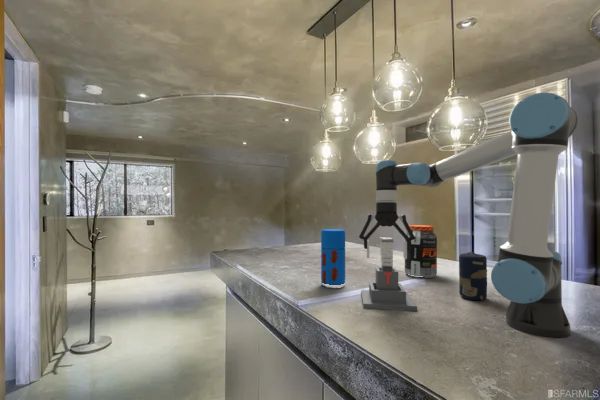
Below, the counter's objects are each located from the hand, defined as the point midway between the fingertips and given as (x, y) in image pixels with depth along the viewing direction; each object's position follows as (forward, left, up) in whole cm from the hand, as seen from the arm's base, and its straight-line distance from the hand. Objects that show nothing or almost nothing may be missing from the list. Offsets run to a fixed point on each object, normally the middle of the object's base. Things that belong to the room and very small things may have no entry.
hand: (386, 258), depth 115 cm
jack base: (0, 0, -16) cm, 16 cm away
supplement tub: (+48, -23, -16) cm, 56 cm away
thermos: (+20, +21, -16) cm, 33 cm away
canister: (+10, -34, -16) cm, 39 cm away
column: (0, 0, -14) cm, 14 cm away
